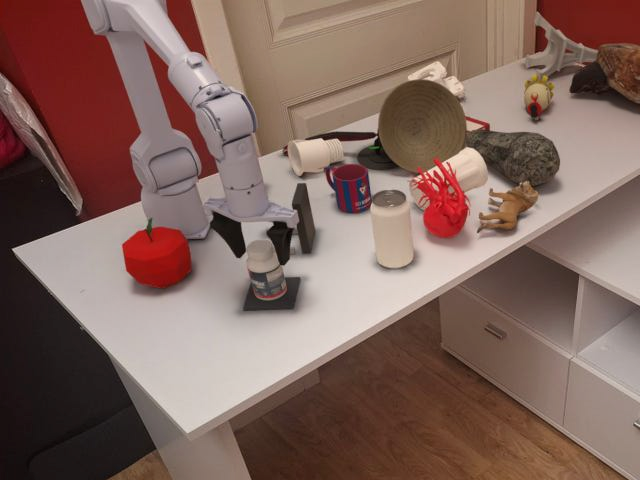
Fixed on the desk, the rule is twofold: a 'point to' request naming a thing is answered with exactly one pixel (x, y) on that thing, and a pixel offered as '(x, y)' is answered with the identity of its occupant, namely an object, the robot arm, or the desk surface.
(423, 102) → the bowl
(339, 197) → the cup
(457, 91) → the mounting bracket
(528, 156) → the decorative stone
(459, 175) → the cup
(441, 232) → the heart organ
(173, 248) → the apple
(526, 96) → the toy
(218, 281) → the desk surface
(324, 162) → the downlight
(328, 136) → the toy
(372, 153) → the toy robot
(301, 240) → the upright grey panel
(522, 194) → the lion figurine
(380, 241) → the can
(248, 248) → the pill bottle
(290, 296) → the coaster
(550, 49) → the eiffel tower
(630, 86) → the sculpture
